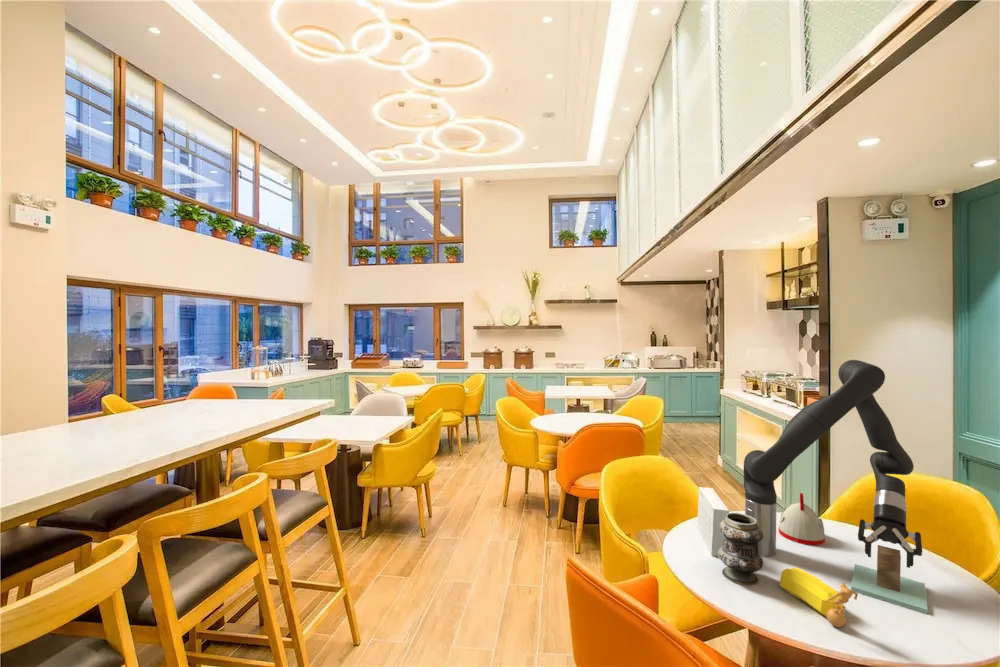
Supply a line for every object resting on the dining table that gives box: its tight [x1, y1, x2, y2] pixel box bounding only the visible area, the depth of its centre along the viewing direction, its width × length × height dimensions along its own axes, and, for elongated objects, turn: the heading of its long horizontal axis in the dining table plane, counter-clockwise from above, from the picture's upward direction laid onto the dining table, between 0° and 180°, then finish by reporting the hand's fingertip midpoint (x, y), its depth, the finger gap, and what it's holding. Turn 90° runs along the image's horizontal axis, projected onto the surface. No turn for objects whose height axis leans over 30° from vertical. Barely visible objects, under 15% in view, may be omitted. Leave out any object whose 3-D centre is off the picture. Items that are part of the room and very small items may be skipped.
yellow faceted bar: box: [779, 566, 845, 618], centre depth 125 cm, size 18×7×8 cm
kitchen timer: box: [778, 492, 826, 546], centre depth 162 cm, size 14×14×15 cm
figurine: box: [826, 582, 859, 628], centre depth 113 cm, size 8×6×12 cm
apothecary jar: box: [717, 512, 764, 586], centre depth 136 cm, size 12×12×18 cm
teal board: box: [850, 563, 929, 615], centre depth 130 cm, size 16×16×1 cm
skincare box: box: [696, 486, 730, 557], centre depth 158 cm, size 21×6×16 cm, turn 168°
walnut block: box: [876, 544, 902, 592], centre depth 130 cm, size 5×5×10 cm
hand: (888, 561), depth 129 cm, fingers open, 8 cm apart
